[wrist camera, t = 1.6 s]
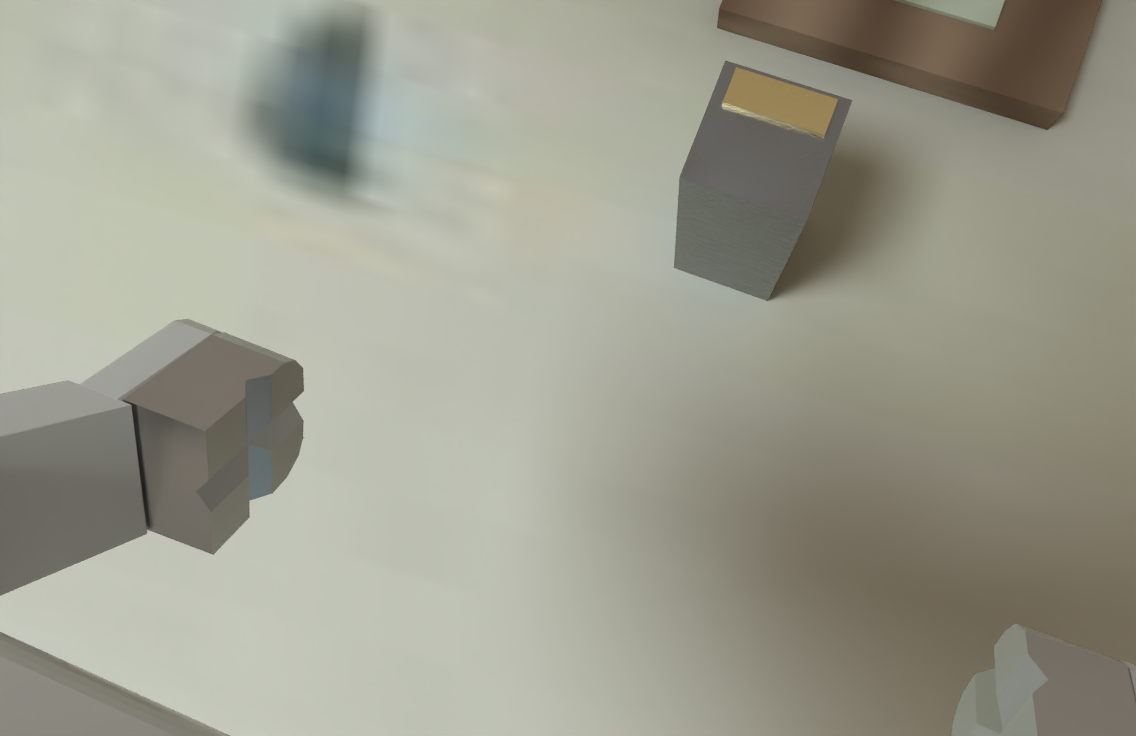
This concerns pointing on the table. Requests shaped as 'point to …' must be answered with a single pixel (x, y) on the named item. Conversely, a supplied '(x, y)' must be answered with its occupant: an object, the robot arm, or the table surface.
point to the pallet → (938, 45)
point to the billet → (753, 177)
